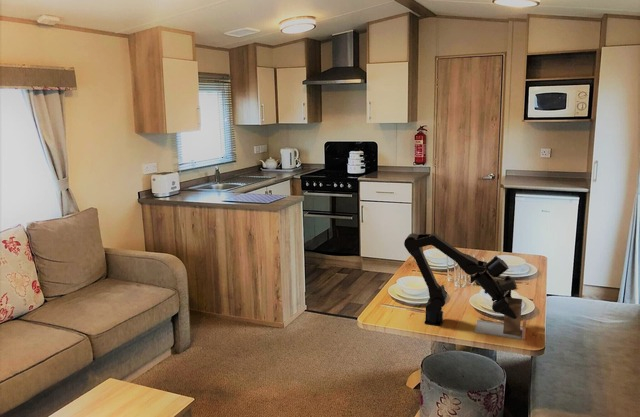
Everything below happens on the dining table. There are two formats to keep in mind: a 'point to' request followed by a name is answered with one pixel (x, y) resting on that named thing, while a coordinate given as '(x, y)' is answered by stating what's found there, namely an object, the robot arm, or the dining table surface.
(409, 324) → the dining table surface
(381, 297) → the dining table surface
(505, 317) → the brown wooden block
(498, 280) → the bolt
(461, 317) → the dining table surface
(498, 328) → the bay
